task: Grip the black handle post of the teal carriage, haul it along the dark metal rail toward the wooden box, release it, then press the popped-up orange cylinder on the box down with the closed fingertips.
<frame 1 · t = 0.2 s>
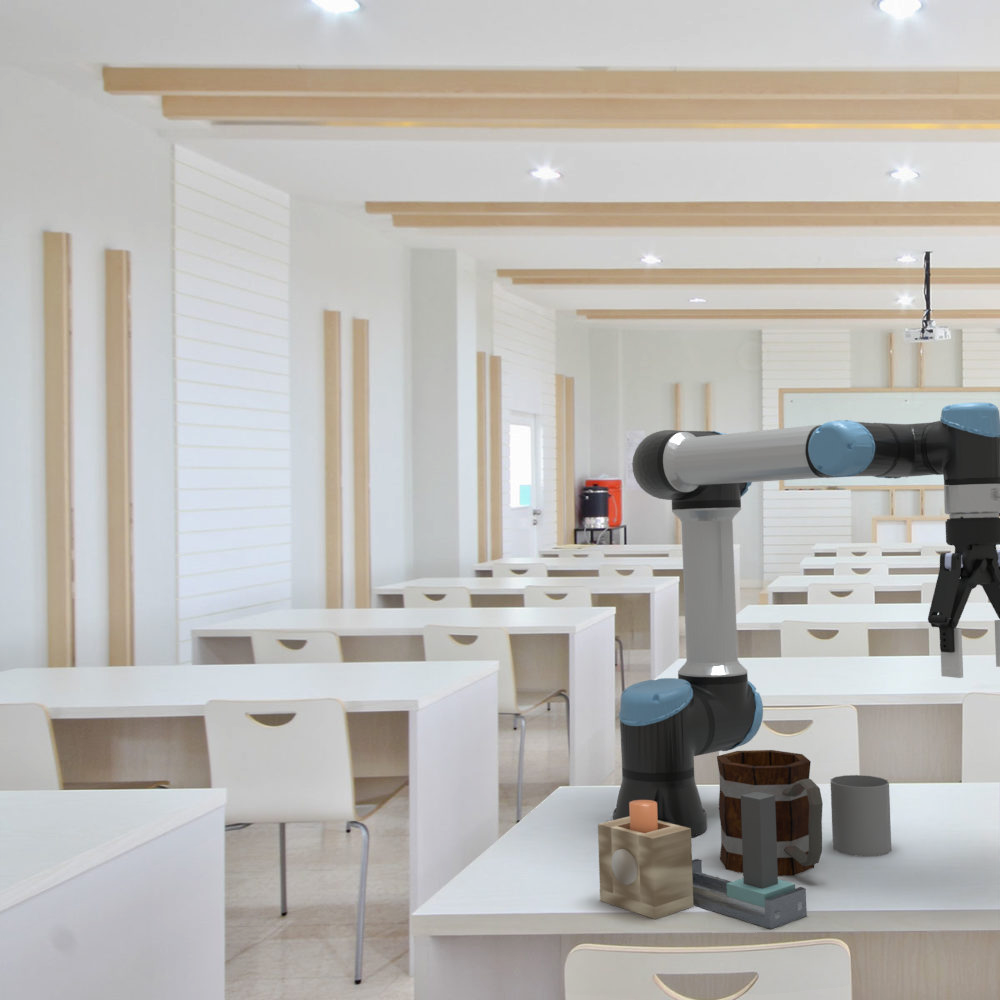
hand: (980, 672, 160), 28 cm above the table, fingers open, 13 cm apart
orange cylinder: (644, 833, 152), point 9 cm above the table, slide at 0.0 cm
cup: (861, 849, 175), on the table
mug: (778, 870, 166), on the table
wooden box: (646, 903, 152), on the table
rail track: (732, 905, 150), on the table
carriage: (759, 845, 147), point 8 cm above the table, slide at 0.0 cm
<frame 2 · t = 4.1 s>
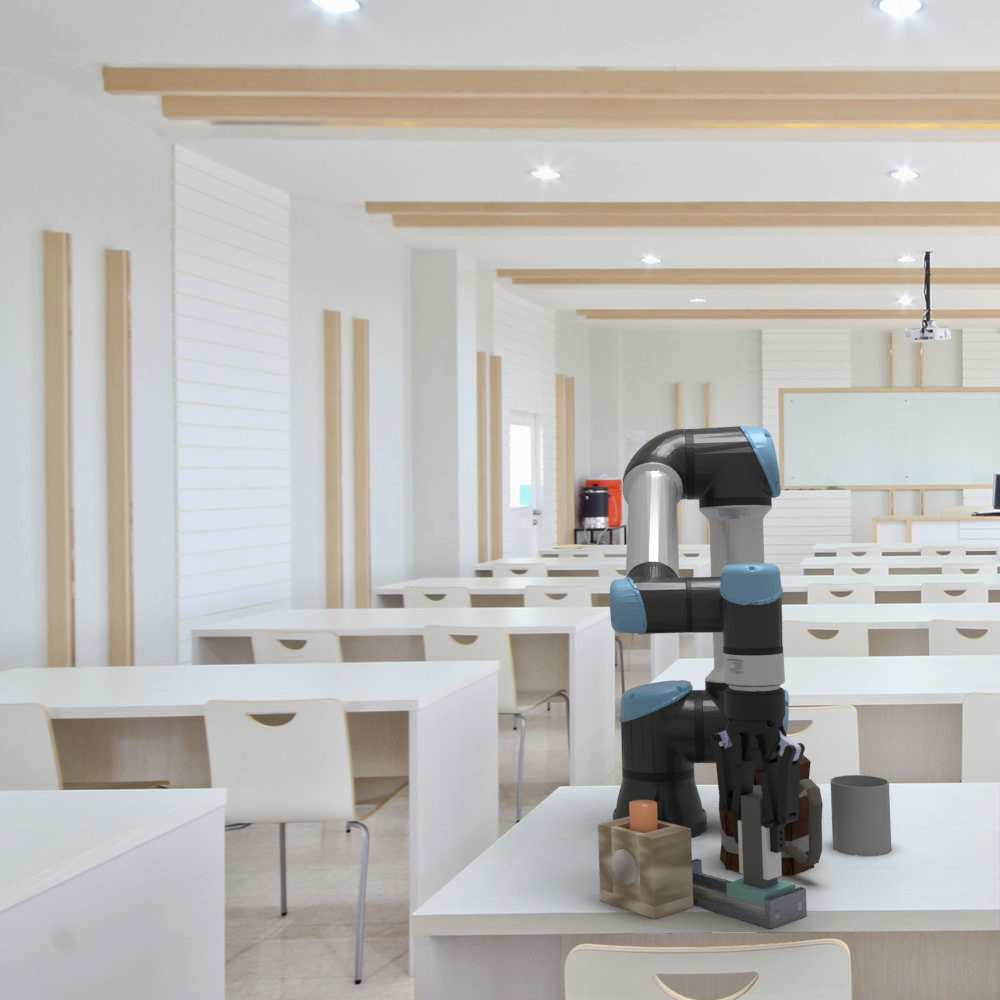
hand: (760, 873, 147), 5 cm above the table, fingers closed on carriage, 3 cm apart
carriage: (759, 845, 147), point 8 cm above the table, slide at 0.0 cm, touching gripper
everything else where it was.
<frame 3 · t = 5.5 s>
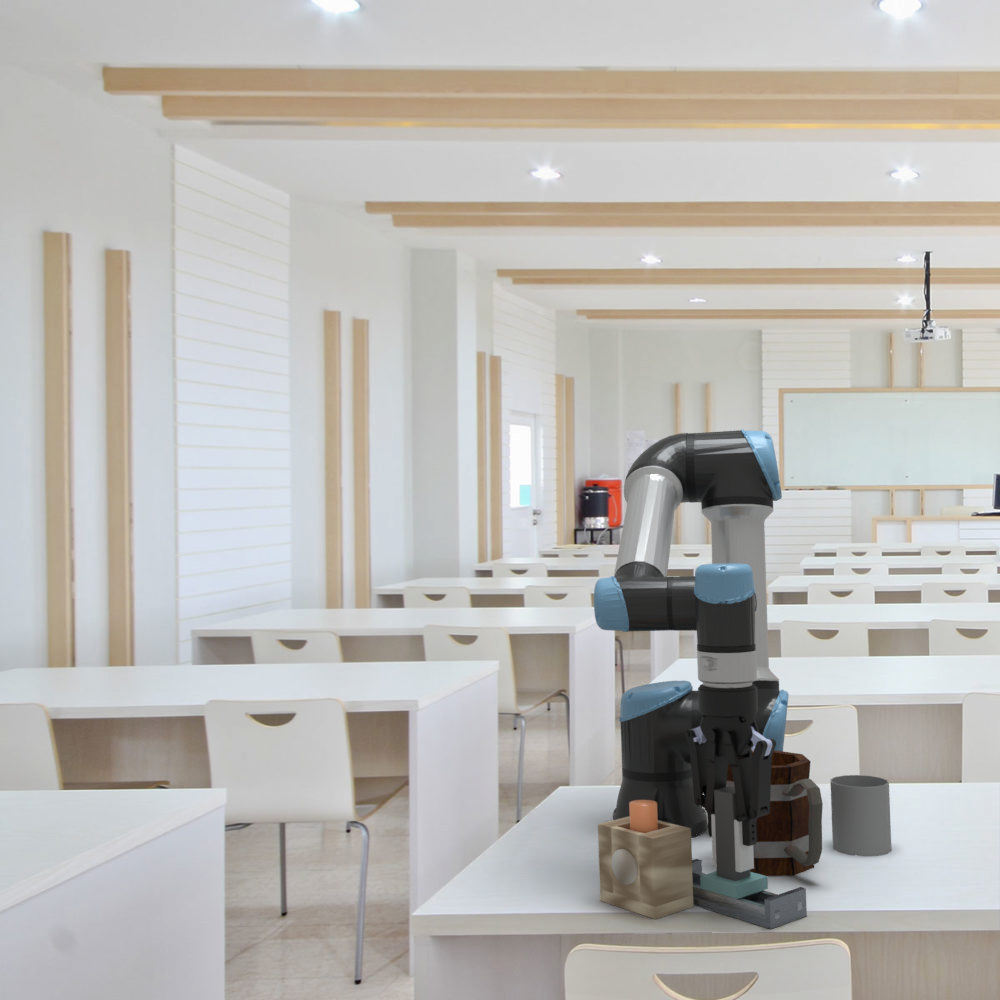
hand: (733, 866, 150), 5 cm above the table, fingers closed on carriage, 3 cm apart
carriage: (732, 839, 150), point 8 cm above the table, slide at 4.4 cm, touching gripper
everything else where it was.
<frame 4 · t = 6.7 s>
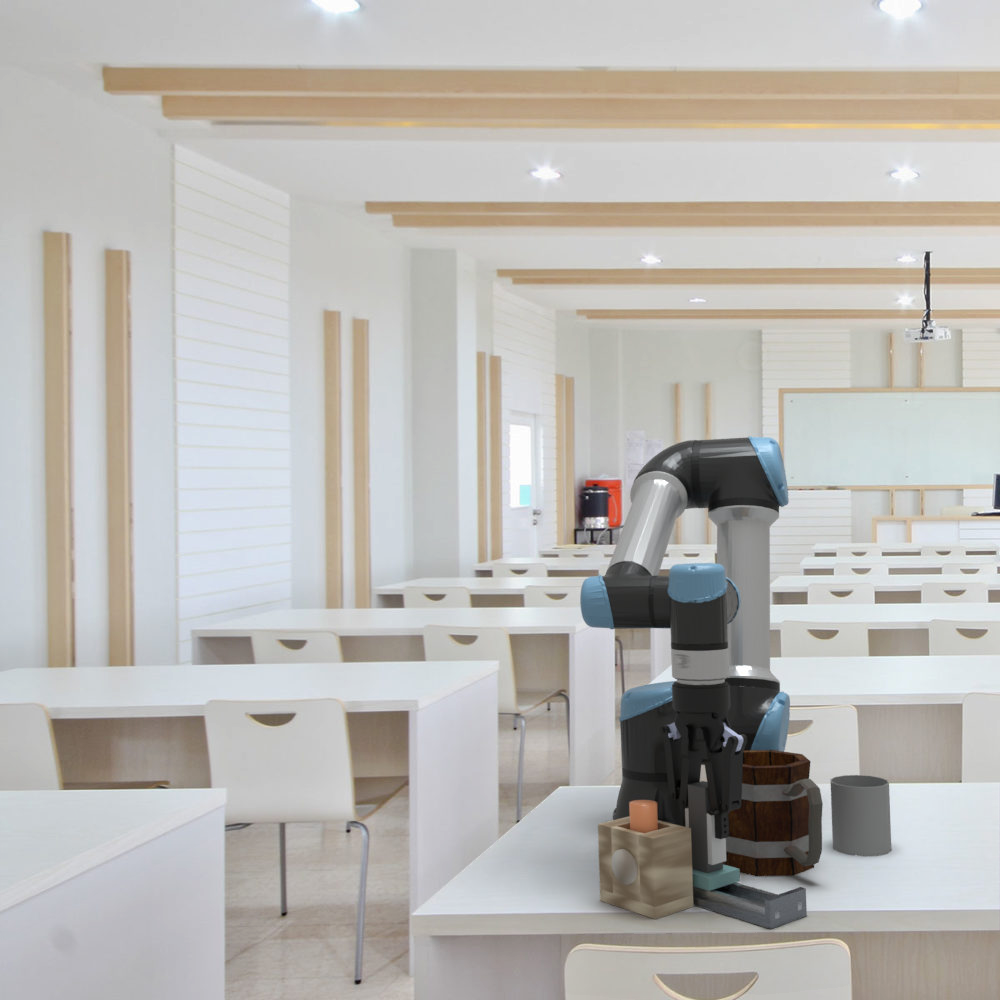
hand: (706, 859, 154), 5 cm above the table, fingers closed on carriage, 3 cm apart
carriage: (705, 832, 154), point 9 cm above the table, slide at 9.0 cm, touching gripper
everything else where it was.
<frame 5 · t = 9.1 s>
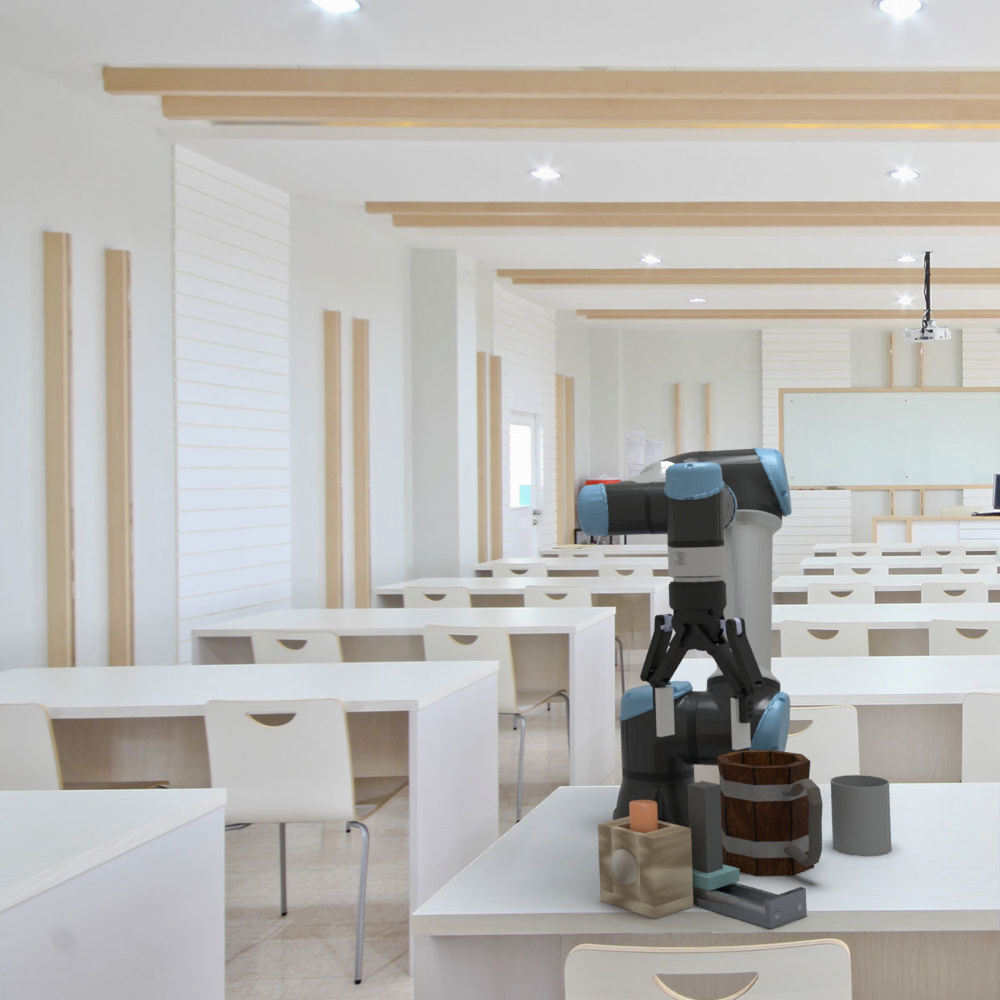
hand: (702, 741, 154), 20 cm above the table, fingers open, 12 cm apart
carriage: (705, 832, 154), point 8 cm above the table, slide at 9.0 cm
everything else where it was.
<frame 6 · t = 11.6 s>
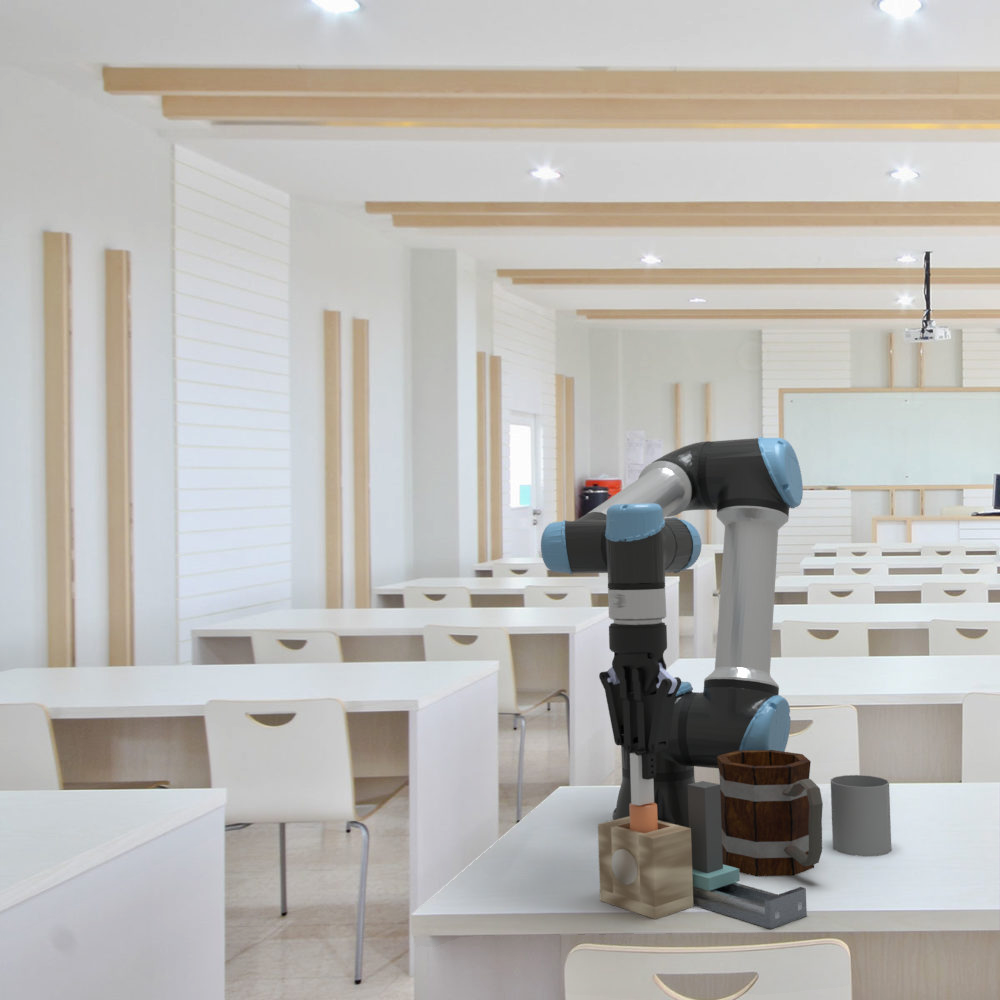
hand: (642, 802, 152), 13 cm above the table, fingers closed
orange cylinder: (644, 835, 152), point 9 cm above the table, slide at 0.2 cm, touching gripper
everything else where it was.
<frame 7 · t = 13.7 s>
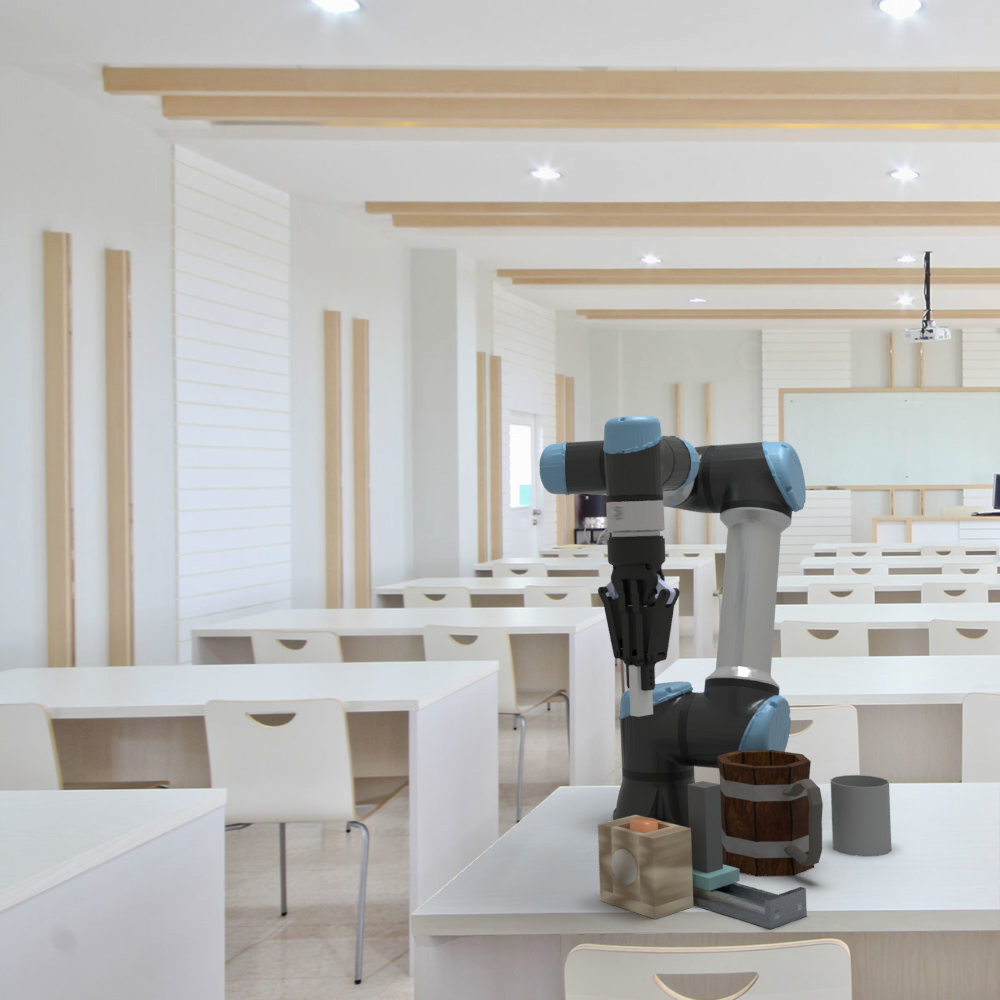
hand: (641, 714, 153), 24 cm above the table, fingers closed
orange cylinder: (644, 851, 152), point 7 cm above the table, slide at 2.3 cm
everything else where it was.
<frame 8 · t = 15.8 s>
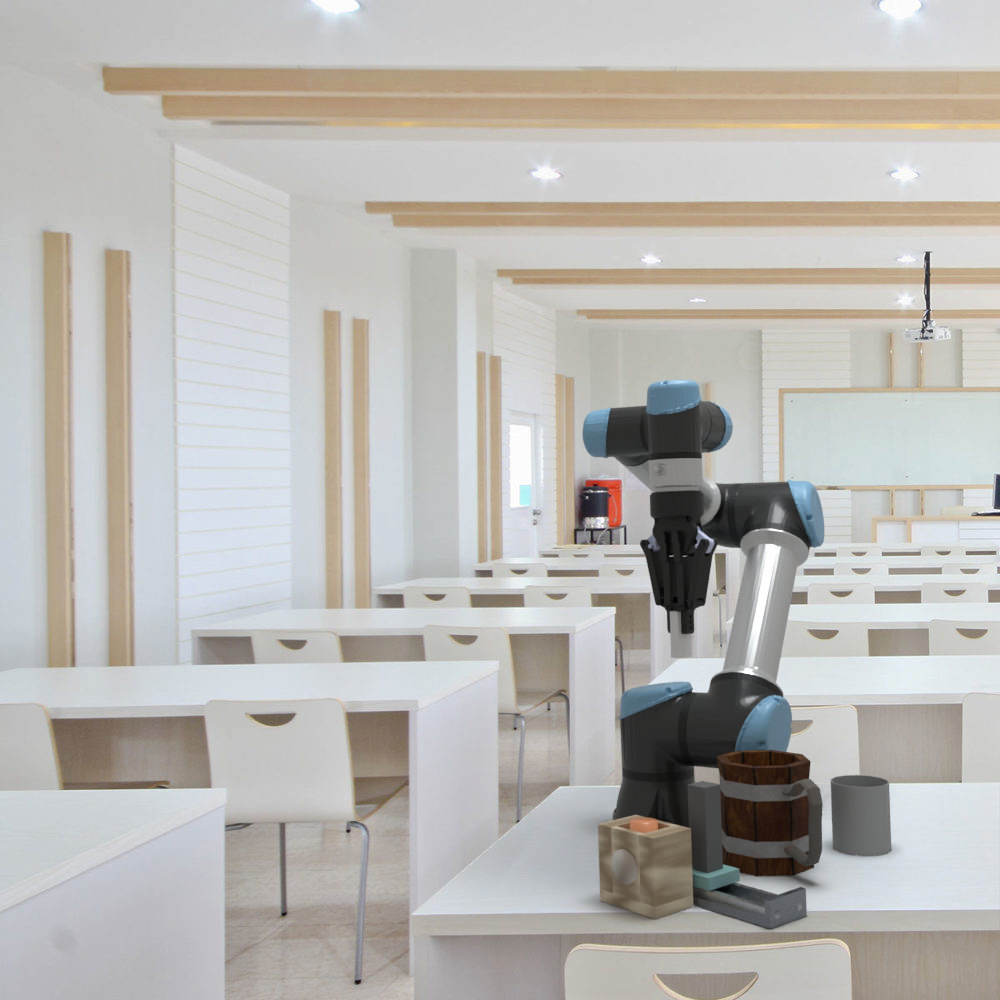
hand: (681, 656, 165), 30 cm above the table, fingers closed
nothing on the table moved.
at the end: carriage slide at 9.0 cm; orange cylinder slide at 2.3 cm; the gripper is holding nothing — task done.
